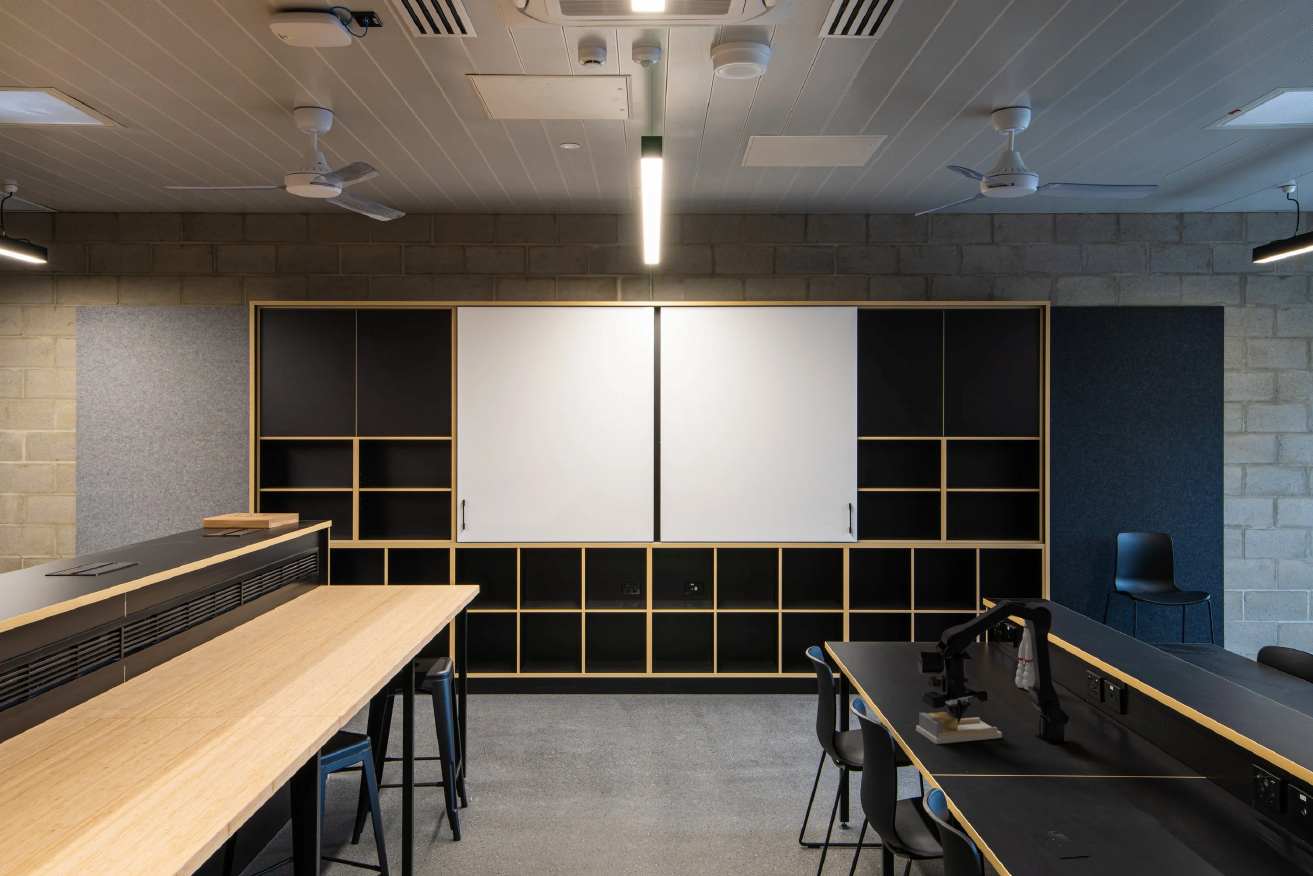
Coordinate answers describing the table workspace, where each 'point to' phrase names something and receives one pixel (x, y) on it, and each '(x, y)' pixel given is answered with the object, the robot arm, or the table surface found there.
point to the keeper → (946, 721)
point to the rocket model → (1025, 662)
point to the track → (966, 730)
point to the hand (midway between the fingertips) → (956, 725)
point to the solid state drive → (1052, 836)
